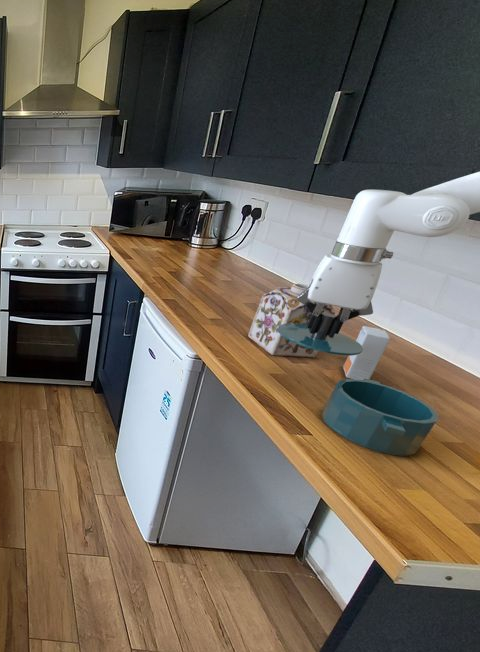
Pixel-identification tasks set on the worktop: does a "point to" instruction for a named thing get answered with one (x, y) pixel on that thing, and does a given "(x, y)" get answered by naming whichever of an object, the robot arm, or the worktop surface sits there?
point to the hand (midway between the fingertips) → (320, 332)
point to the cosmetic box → (366, 353)
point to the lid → (321, 337)
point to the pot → (379, 416)
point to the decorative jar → (282, 321)
